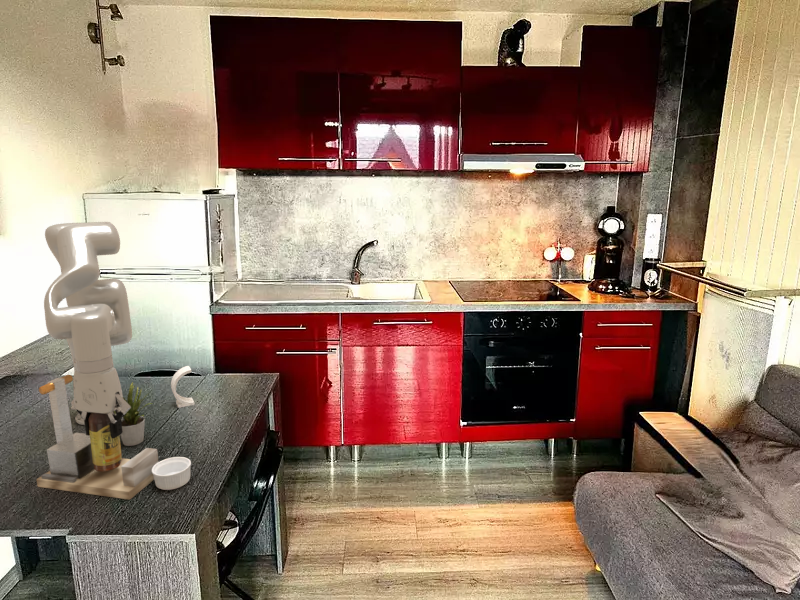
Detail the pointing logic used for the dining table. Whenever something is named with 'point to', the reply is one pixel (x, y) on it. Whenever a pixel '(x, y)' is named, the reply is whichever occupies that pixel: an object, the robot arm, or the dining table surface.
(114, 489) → the clamp base
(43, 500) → the dining table surface
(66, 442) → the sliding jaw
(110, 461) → the sauce bottle
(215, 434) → the dining table surface
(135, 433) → the house plant
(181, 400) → the white curved arc piece
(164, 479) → the ramekin
